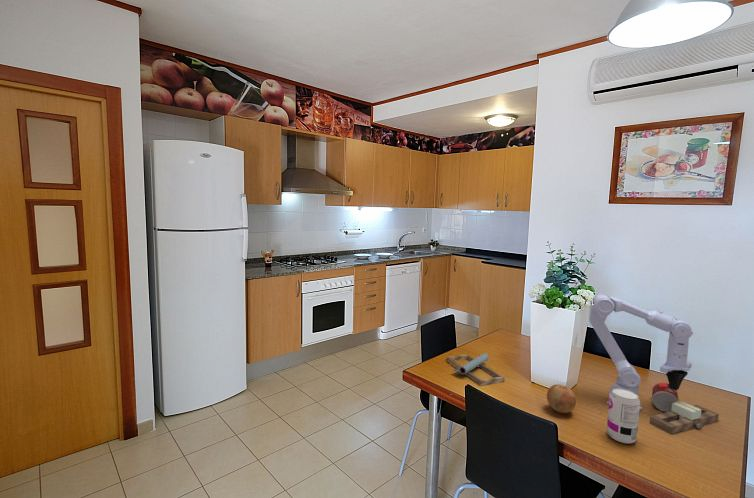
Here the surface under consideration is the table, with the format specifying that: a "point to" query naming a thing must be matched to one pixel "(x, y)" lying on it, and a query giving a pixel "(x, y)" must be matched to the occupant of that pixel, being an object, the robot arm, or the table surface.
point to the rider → (686, 410)
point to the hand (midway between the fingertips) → (674, 388)
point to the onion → (561, 398)
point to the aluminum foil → (472, 364)
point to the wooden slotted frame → (682, 421)
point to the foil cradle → (497, 376)
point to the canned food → (664, 396)
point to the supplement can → (623, 415)
